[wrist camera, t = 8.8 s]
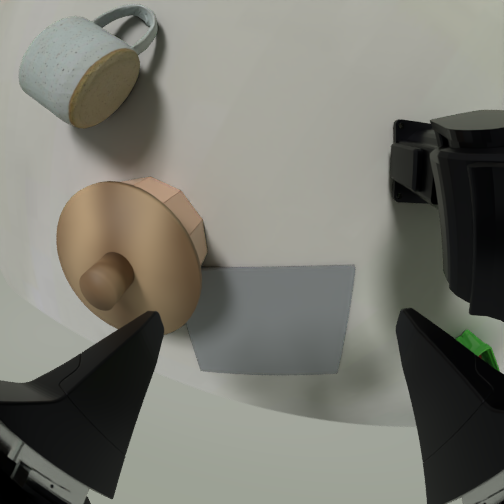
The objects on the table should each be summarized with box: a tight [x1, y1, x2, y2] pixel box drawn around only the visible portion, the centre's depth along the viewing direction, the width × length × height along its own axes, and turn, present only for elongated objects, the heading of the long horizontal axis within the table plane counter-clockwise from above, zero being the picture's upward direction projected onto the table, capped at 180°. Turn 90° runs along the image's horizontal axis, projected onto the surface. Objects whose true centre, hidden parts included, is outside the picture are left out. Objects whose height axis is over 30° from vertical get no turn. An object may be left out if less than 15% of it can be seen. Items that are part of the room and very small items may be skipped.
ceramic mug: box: [19, 4, 158, 128], centre depth 13 cm, size 11×8×8 cm
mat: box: [186, 265, 355, 375], centre depth 26 cm, size 16×14×1 cm
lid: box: [57, 181, 202, 335], centre depth 17 cm, size 13×13×4 cm
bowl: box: [122, 177, 208, 266], centre depth 21 cm, size 11×11×5 cm
